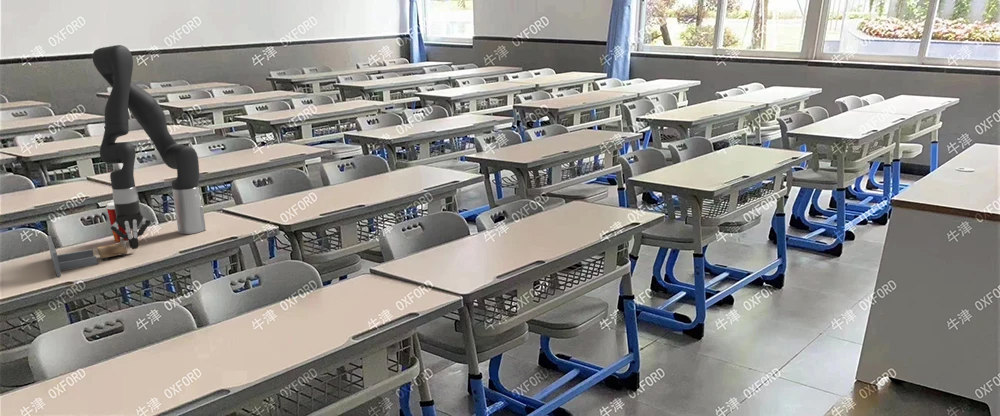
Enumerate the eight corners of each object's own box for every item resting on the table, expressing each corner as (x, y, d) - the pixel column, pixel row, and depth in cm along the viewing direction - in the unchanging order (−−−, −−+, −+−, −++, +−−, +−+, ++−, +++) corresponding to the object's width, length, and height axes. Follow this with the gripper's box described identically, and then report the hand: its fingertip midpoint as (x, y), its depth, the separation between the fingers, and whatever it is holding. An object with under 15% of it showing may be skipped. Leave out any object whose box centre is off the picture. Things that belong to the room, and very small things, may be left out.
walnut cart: (124, 252, 248) (122, 237, 246) (127, 256, 243) (125, 240, 242) (99, 256, 243) (96, 241, 242) (101, 261, 238) (99, 245, 237)
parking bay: (91, 251, 249) (87, 229, 247) (100, 268, 230) (96, 245, 228) (51, 258, 243) (47, 236, 241) (57, 277, 224) (52, 253, 222)
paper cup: (139, 236, 266) (133, 200, 263) (126, 242, 259) (120, 205, 255) (119, 236, 267) (113, 200, 263) (106, 242, 260) (100, 205, 256)
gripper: (144, 195, 248) (152, 242, 253) (102, 201, 241) (111, 249, 245) (149, 199, 242) (157, 247, 247) (106, 205, 235) (115, 255, 239)
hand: (134, 248), depth 246 cm, fingers closed
